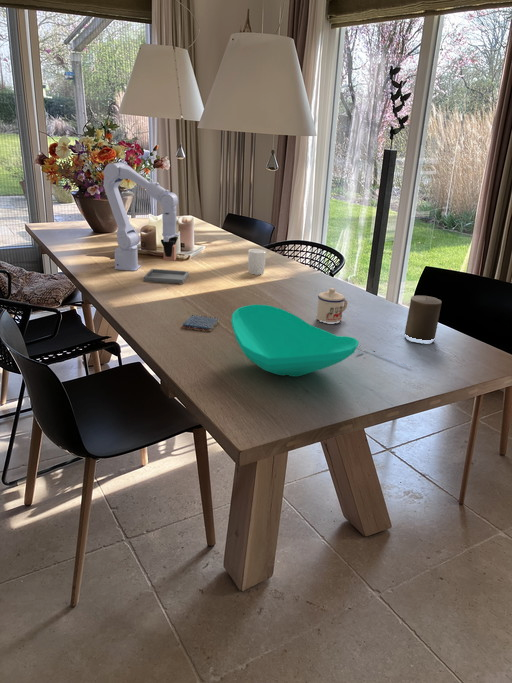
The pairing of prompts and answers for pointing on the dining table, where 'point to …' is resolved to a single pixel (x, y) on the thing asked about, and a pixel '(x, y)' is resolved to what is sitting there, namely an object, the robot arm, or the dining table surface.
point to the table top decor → (287, 341)
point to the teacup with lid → (331, 306)
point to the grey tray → (166, 276)
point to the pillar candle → (423, 317)
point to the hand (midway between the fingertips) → (169, 255)
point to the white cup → (256, 261)
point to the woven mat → (200, 323)
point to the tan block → (173, 255)
